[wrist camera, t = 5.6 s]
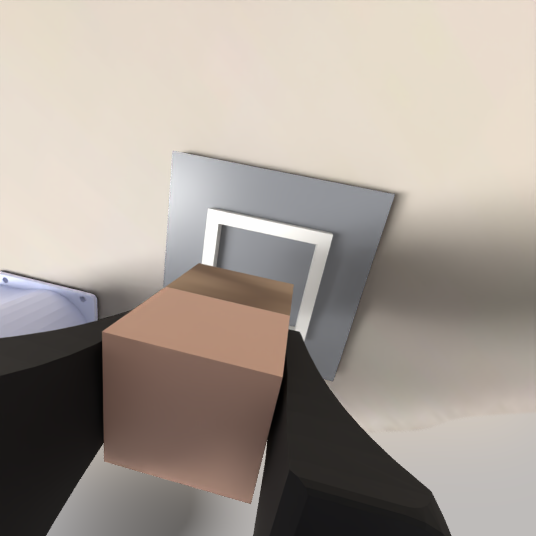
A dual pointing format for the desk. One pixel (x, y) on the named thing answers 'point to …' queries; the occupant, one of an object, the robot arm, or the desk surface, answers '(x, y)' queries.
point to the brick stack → (197, 379)
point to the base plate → (279, 239)
